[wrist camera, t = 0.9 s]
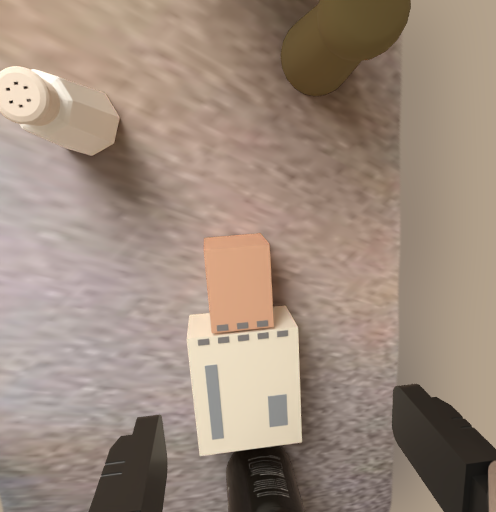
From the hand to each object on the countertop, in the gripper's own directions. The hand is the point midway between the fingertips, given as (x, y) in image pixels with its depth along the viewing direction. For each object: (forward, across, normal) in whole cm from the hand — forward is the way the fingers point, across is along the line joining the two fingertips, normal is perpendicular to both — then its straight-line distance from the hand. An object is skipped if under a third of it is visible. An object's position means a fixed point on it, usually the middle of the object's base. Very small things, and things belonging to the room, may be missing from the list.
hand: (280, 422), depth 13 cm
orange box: (+22, 0, +1) cm, 22 cm away
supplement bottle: (+22, -1, +22) cm, 31 cm away
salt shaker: (+22, +11, -13) cm, 28 cm away
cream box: (+22, 0, +10) cm, 24 cm away
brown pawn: (+22, -8, -17) cm, 29 cm away
